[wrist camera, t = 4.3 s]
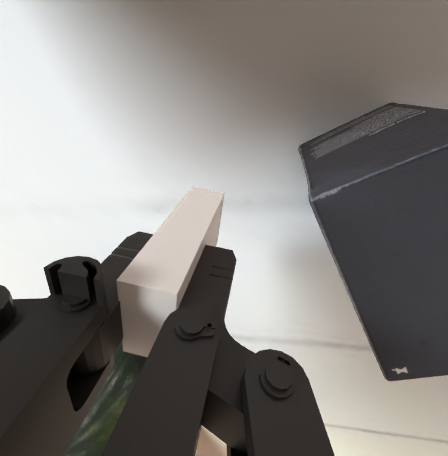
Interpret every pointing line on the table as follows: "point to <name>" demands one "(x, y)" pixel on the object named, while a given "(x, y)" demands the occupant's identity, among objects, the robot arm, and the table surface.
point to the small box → (389, 229)
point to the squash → (107, 405)
